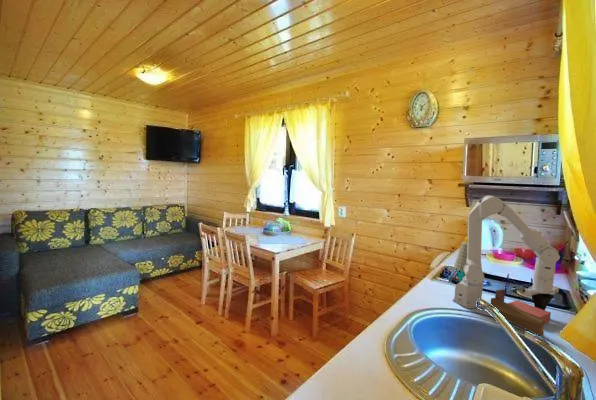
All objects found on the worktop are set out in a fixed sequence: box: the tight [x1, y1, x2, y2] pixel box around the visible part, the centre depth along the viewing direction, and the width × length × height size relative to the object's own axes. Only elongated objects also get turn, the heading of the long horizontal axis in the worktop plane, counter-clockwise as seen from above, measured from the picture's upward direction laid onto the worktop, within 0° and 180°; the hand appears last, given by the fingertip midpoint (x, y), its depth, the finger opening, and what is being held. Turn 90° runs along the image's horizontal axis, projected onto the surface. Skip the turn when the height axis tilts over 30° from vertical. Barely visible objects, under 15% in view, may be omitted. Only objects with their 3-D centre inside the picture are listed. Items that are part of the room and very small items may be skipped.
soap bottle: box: [453, 235, 468, 273], centre depth 161 cm, size 12×12×20 cm
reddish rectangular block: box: [506, 299, 552, 326], centre depth 111 cm, size 8×11×4 cm
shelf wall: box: [489, 297, 546, 337], centre depth 107 cm, size 2×18×5 cm, turn 17°
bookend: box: [494, 288, 506, 302], centre depth 116 cm, size 4×1×8 cm, turn 107°
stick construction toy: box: [451, 268, 466, 283], centre depth 146 cm, size 12×7×8 cm
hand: (539, 311), depth 113 cm, fingers closed
